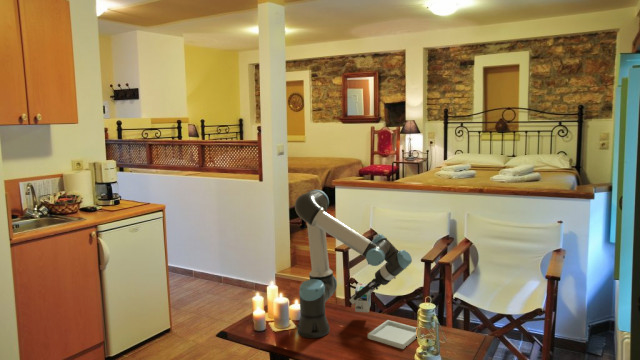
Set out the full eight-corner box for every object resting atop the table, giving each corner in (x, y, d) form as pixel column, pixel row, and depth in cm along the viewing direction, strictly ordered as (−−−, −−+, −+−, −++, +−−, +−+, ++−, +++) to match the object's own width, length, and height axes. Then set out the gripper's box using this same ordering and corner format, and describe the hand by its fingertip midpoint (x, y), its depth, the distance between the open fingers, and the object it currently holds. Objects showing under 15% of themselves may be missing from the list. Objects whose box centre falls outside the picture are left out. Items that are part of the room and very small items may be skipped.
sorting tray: (367, 338, 225) (367, 333, 225) (387, 324, 239) (387, 319, 239) (403, 349, 214) (403, 344, 214) (422, 333, 228) (422, 329, 228)
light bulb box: (368, 312, 239) (368, 291, 237) (354, 311, 240) (354, 290, 239) (371, 304, 249) (370, 283, 248) (357, 303, 251) (357, 282, 249)
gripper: (377, 288, 224) (349, 312, 235) (403, 273, 242) (376, 296, 254) (367, 274, 226) (339, 299, 237) (393, 261, 245) (367, 284, 256)
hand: (358, 298), depth 246 cm, fingers closed on light bulb box, 12 cm apart
